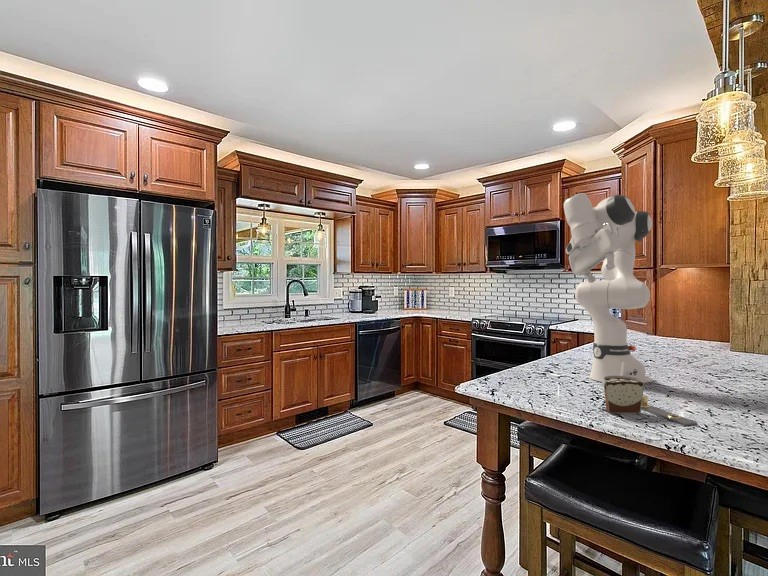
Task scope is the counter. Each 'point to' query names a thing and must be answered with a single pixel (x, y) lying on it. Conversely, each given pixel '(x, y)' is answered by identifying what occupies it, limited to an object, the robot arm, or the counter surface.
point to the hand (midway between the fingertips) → (601, 275)
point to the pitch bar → (665, 413)
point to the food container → (623, 394)
